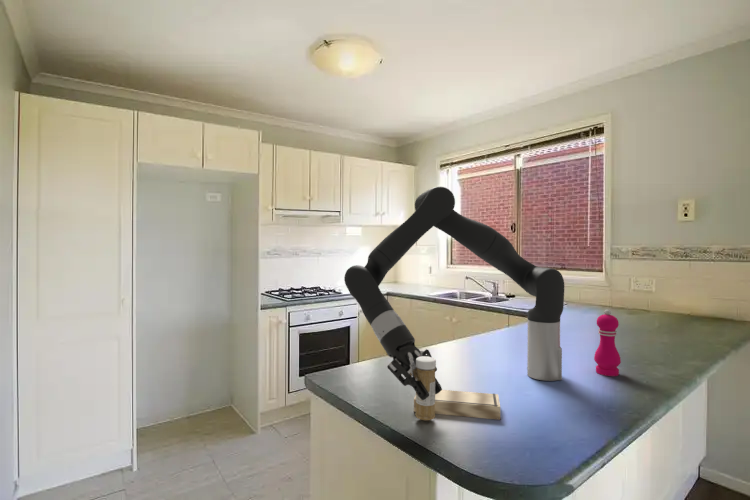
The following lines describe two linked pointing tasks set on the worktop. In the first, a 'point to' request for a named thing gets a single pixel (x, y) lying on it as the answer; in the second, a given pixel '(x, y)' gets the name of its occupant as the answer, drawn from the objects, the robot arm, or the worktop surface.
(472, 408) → the maple plank
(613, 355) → the pepper mill
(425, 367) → the sprinkles bottle
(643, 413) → the worktop surface
